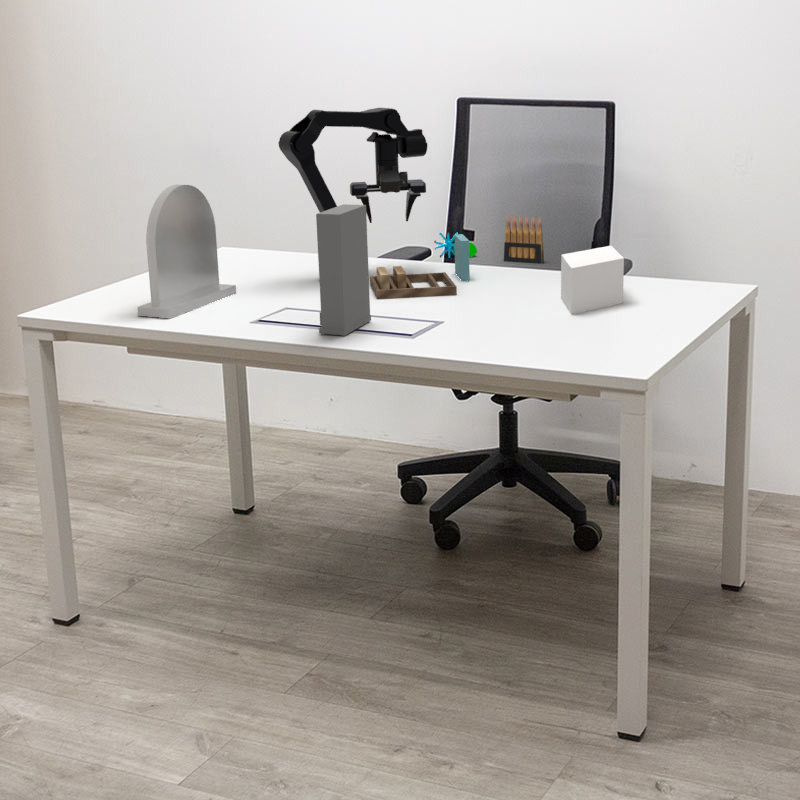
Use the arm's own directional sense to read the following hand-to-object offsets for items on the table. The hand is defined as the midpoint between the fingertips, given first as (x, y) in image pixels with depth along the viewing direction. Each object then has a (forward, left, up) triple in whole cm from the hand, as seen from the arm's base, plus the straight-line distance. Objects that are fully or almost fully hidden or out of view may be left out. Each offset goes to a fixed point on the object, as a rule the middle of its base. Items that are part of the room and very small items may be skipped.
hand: (388, 222), depth 315 cm
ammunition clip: (+36, +6, -13) cm, 39 cm away
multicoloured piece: (+20, +19, -13) cm, 31 cm away
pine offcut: (-4, -22, -13) cm, 26 cm away
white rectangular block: (+41, -44, -13) cm, 62 cm away
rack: (+3, -22, -13) cm, 26 cm away
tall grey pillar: (-16, -58, -13) cm, 61 cm away
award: (-50, -26, -13) cm, 58 cm away
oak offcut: (0, -22, -13) cm, 26 cm away
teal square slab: (+17, -10, -13) cm, 24 cm away
